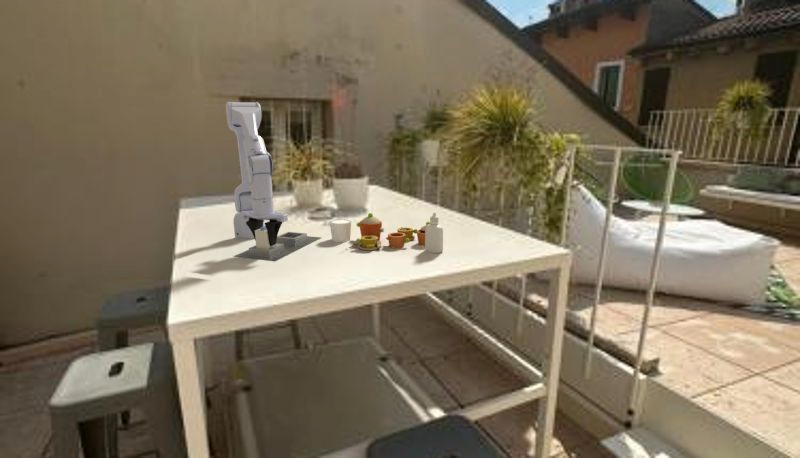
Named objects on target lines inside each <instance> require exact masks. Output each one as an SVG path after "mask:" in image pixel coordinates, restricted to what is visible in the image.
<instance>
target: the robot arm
mask: <svg viewBox="0 0 800 458" xmlns="http://www.w3.org/2000/svg"><path fill="white" fill-rule="evenodd" d="M225 115H226V123H227V127H228V130H230V131H232V132H234V134H235V136H236V138H237V139H236V140H237V149H238V158H239V167H240V175H241V176H240V177H241V183H240V184H239V185H238V186H237V187H236V188H235V189H234V191H233V192H234V193H233V195H234V197H233V199H234V207H235V211H236V213H235V215H234V217H233V228H234V231H233V232H234V238H233V240H234V239H237V238H243V239H248V240H249V239H253V240H254V241H255V242H256V238H255V230H258V229H260V228H261V227H263V226H266V229H267V232H268V237H269V244H270V246H273V245H275V244H276V240H277V236H279V231H280V228H281V227H282V224H283V223H284V222H288V220H289V218H288V213H282V212H276V211H275V208H274V197H273V196H274V195H273V182H272V181H273V180H272V176H273V174H274V163H273V158H272V155H271V154H270V152H268V151H267V149H266V144H265V141H264V138H263V137H261V136H260V135H259V132H258V130H259V128H260V124H261V122H262V106H261V104H260V103H259V102H258V101H255V102H247V101H246V102H244V101H243V102H239V101H235V102H233V101H231V102H230V101H227V102H226V103H225ZM265 221H266V222H265Z"/></svg>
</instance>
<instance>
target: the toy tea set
mask: <svg viewBox="0 0 800 458" xmlns="http://www.w3.org/2000/svg"><path fill="white" fill-rule="evenodd" d="M373 215H374V214H373V213H372V212H369V213H368V215H367V216H366V217H364V218H362V220H360V221H359V222H357V223H356V227H358V228H359V230H360V236H361V237H360V238H356V240H355V243H356V244H359V245H358V248H359V249H360V250H363V251H376V250H379V249H381V248H382V247H383V246H382V241H381V240H380V239H381V233H383V232H385V229H384V228H383V227H382V226H383V221H382V220H380V219H379V218H378V217H376V216H373ZM428 224H430V221H427V222H425V225H423V226H422V227H420V229H417V228H415V229H413V227H406V226H405V227H403V226H401V227H400V228H397V232H391V233H390V232H389V233H388V234H387V236H386V238H385V240H387V241H388V245H389V247H390V248H392V249H402V248H404V246H405V244H406V243H407V244H408V243H410V242H411V241H413V240H415V239H416V237H417V243H418V245H420V246H422V247H425V228H426V226H427V225H428ZM413 234H415V235H416V237H415V235H413Z"/></svg>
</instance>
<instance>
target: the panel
mask: <svg viewBox="0 0 800 458" xmlns="http://www.w3.org/2000/svg"><path fill="white" fill-rule="evenodd" d="M321 239H322V237H319V236H308V233H305V232H295V231H287V232H285V233H282V234H278V235H277V240H276V246H275V247H273V248H271V249H269V250H268V249H259V248H256V244H255V245H254V246H251V247H248V249H247V250H245V251H242V252H241V253H238V254H236V255H232V256H233V257H234V258H242V259H251V260H260V261H267V262H276V261H279V260H281V259H282V258H285V257H287V256H288V255H291V254H293V253H295V252H297V251H299V250H300V249H303V248H304V247H307V246H309V245H311V244H312V243H315V242H317V241H318V240H321Z"/></svg>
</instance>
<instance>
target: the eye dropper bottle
mask: <svg viewBox="0 0 800 458" xmlns="http://www.w3.org/2000/svg"><path fill="white" fill-rule="evenodd" d="M429 222H430V224H428V225H427V226H426V225H425V226H426V228H425V246H424V249H425V251H426V252H428V253H432V254H441V253H443V251H444V228H443V226H442V225H440V224H439V216H438V215H437V213H436V212H435V211H433V213H432V215H431V216H430V218H429Z"/></svg>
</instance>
